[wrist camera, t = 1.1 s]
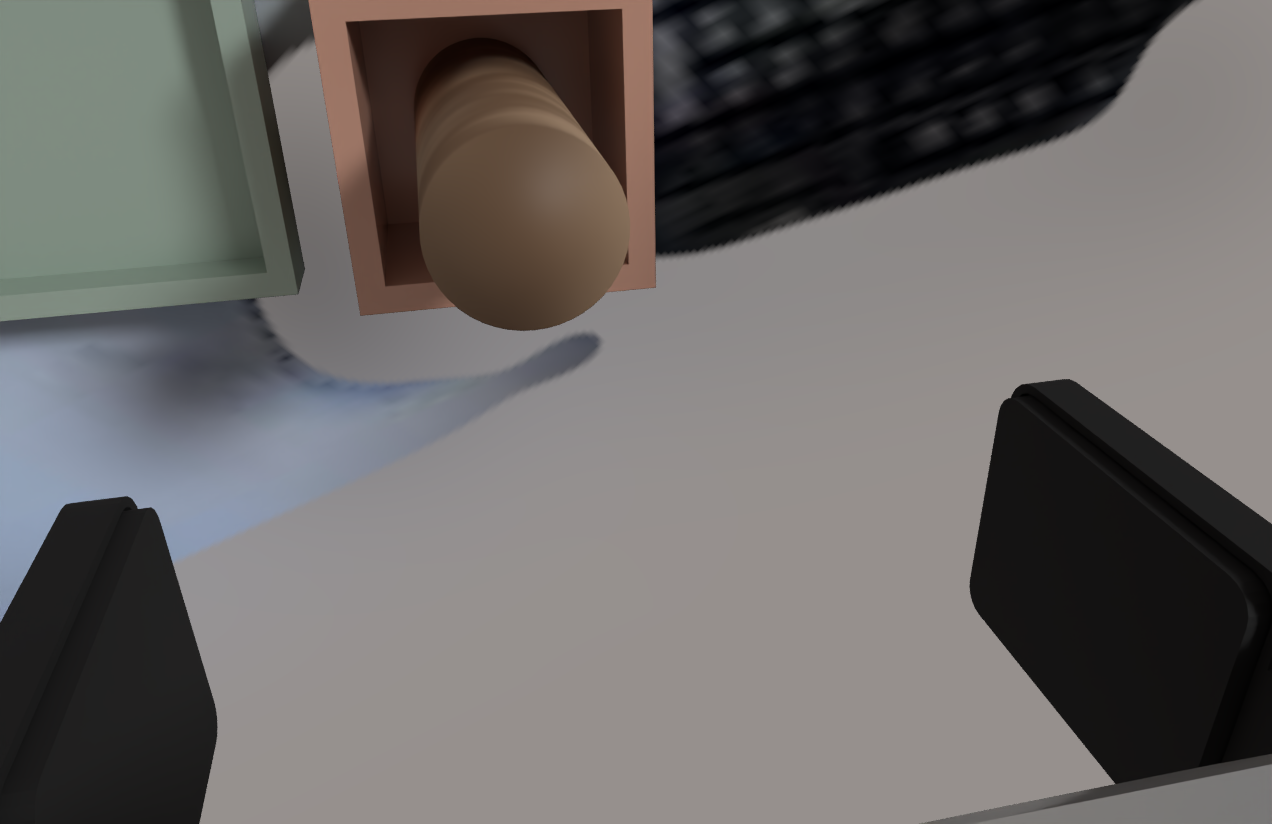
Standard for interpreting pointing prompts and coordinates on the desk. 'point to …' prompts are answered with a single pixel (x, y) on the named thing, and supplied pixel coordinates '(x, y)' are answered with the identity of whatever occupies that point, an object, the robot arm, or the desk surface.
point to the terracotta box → (385, 122)
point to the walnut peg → (512, 191)
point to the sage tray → (139, 158)
